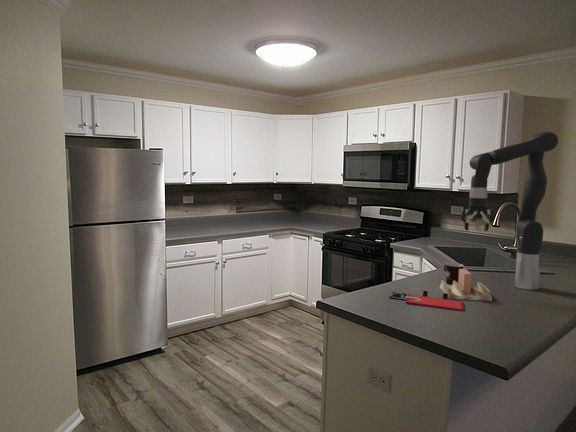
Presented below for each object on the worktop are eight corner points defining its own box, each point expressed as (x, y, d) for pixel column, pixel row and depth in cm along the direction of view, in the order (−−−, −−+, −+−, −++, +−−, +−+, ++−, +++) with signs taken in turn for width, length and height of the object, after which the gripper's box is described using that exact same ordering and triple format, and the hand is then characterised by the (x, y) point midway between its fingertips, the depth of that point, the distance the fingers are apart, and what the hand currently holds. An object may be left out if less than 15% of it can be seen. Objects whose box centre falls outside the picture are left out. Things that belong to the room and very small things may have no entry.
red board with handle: (392, 292, 182) (387, 302, 169) (392, 286, 182) (387, 296, 168) (462, 301, 171) (463, 313, 157) (463, 295, 171) (464, 306, 157)
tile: (470, 293, 176) (471, 274, 175) (463, 293, 176) (464, 273, 176) (464, 287, 186) (465, 269, 185) (457, 287, 186) (458, 268, 185)
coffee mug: (464, 287, 192) (465, 267, 191) (445, 285, 194) (446, 266, 193) (459, 281, 204) (460, 262, 203) (441, 280, 205) (442, 261, 204)
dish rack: (479, 289, 188) (479, 281, 188) (491, 301, 171) (492, 292, 170) (439, 287, 191) (440, 279, 191) (448, 298, 174) (448, 289, 173)
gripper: (464, 197, 185) (462, 231, 186) (497, 197, 182) (494, 232, 184) (460, 196, 192) (458, 229, 194) (491, 197, 190) (489, 230, 191)
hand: (476, 230), depth 189 cm, fingers open, 8 cm apart
